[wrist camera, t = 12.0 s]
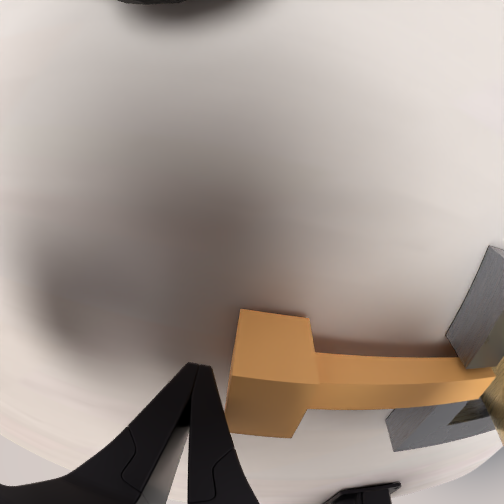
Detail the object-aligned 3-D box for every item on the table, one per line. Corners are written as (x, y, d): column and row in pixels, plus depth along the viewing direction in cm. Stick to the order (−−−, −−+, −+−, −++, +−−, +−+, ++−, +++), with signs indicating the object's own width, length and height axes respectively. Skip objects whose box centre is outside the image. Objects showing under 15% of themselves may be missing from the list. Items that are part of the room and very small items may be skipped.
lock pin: (453, 378, 12) (473, 422, 9) (230, 369, 12) (222, 431, 9) (485, 331, 10) (514, 374, 8) (240, 308, 10) (232, 375, 7)
